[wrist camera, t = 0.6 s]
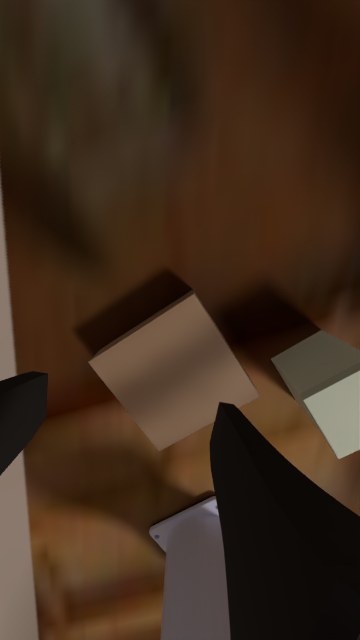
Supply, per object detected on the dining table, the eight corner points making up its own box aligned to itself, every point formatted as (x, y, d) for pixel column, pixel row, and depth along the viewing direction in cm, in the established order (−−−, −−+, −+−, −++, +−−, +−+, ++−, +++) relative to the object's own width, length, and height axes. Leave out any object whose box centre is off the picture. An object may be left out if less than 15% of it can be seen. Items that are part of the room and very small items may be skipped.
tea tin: (347, 374, 20) (416, 422, 14) (294, 402, 21) (338, 459, 15) (322, 327, 19) (384, 357, 13) (267, 358, 20) (303, 400, 14)
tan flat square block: (249, 377, 21) (260, 396, 18) (162, 426, 22) (159, 451, 19) (192, 288, 19) (194, 293, 16) (102, 347, 20) (88, 362, 17)
